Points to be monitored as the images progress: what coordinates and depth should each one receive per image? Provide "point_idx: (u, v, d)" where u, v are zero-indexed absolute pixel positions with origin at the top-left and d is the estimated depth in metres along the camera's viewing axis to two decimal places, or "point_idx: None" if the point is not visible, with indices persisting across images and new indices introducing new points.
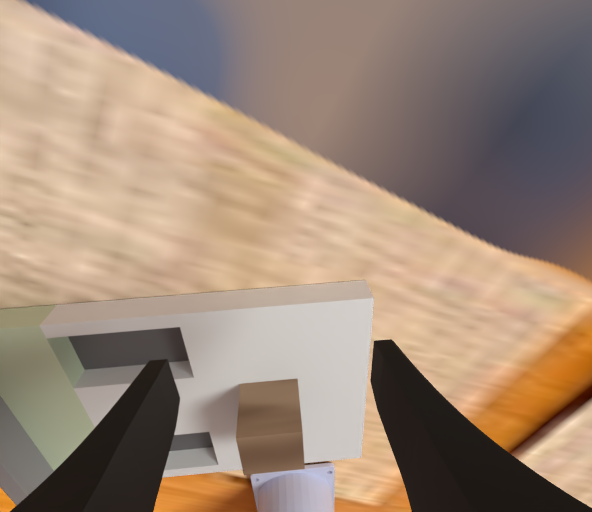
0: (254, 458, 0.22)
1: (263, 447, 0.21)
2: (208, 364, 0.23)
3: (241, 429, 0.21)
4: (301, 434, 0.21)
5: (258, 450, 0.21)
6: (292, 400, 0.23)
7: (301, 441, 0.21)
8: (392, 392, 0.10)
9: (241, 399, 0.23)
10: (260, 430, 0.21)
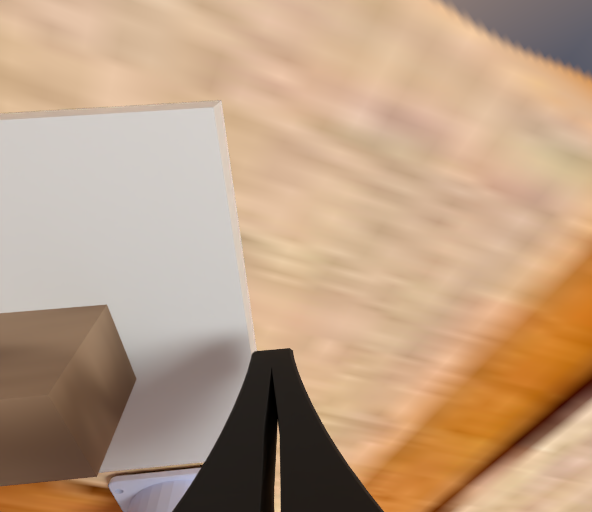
0: None
1: None
2: None
3: None
4: (49, 401, 0.10)
5: None
6: (69, 339, 0.11)
7: (58, 418, 0.10)
8: None
9: None
10: None
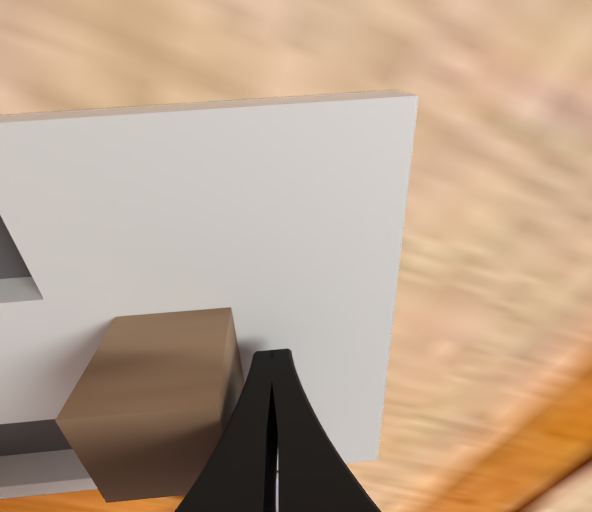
0: (118, 468, 0.10)
1: (131, 442, 0.09)
2: (67, 267, 0.11)
3: (77, 401, 0.09)
4: (215, 412, 0.09)
5: (121, 449, 0.09)
6: (209, 344, 0.11)
7: (218, 430, 0.09)
8: (274, 403, 0.10)
9: (105, 342, 0.11)
10: (119, 402, 0.09)
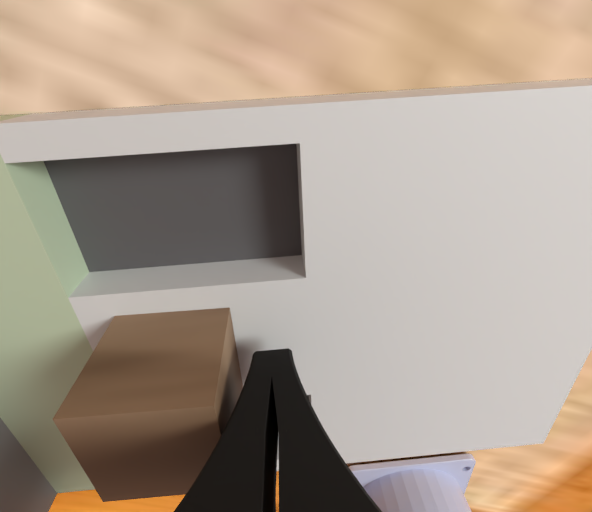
0: (115, 467, 0.10)
1: (128, 442, 0.09)
2: (340, 246, 0.11)
3: (74, 400, 0.09)
4: (212, 412, 0.09)
5: (118, 449, 0.09)
6: (207, 344, 0.11)
7: (215, 430, 0.09)
8: None
9: (104, 342, 0.11)
10: (117, 401, 0.09)
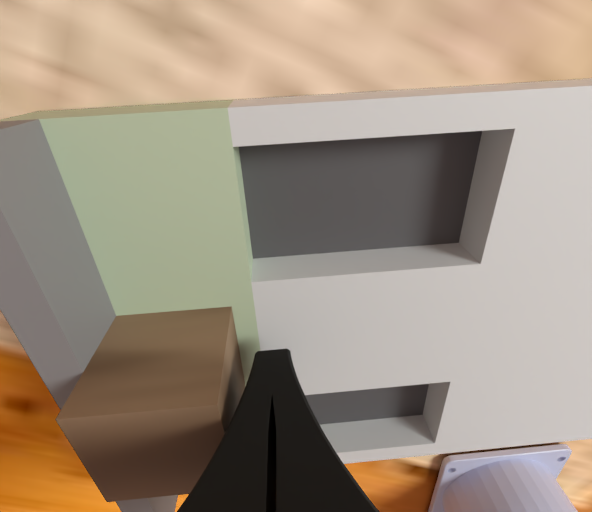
0: (119, 467, 0.10)
1: (131, 441, 0.09)
2: (522, 232, 0.12)
3: (77, 400, 0.09)
4: (216, 411, 0.09)
5: (121, 449, 0.09)
6: (210, 343, 0.11)
7: (219, 429, 0.09)
8: None
9: (106, 342, 0.11)
10: (120, 401, 0.09)
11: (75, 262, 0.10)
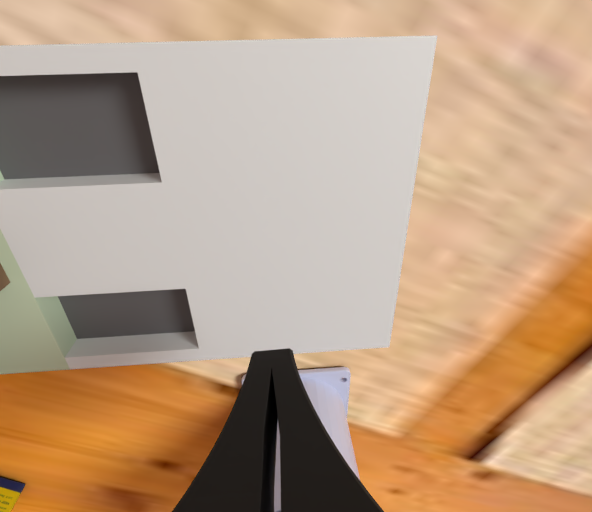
0: None
1: None
2: (183, 156, 0.15)
3: None
4: None
5: None
6: None
7: None
8: None
9: None
10: None
11: None
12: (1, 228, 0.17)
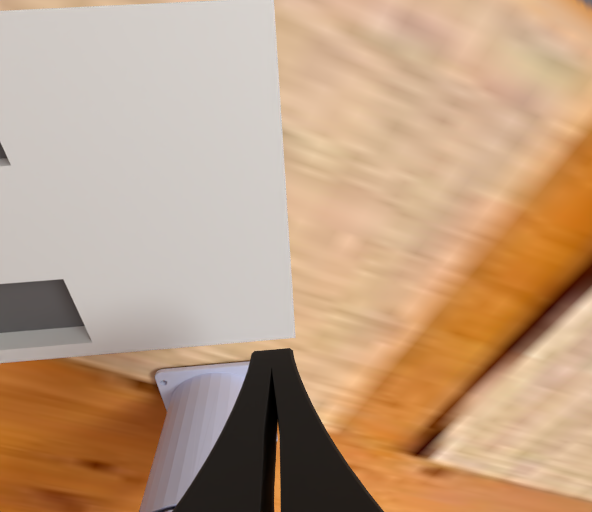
0: None
1: None
2: (27, 137, 0.15)
3: None
4: None
5: None
6: None
7: None
8: None
9: None
10: None
11: None
12: None
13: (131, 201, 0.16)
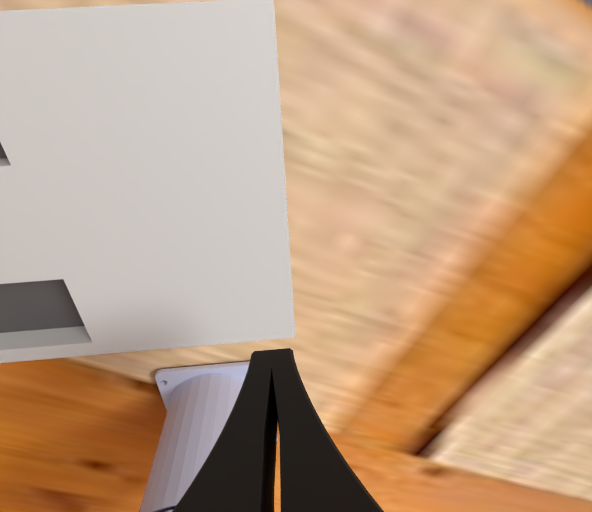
0: None
1: None
2: (27, 137, 0.15)
3: None
4: None
5: None
6: None
7: None
8: None
9: None
10: None
11: None
12: None
13: (131, 201, 0.16)
